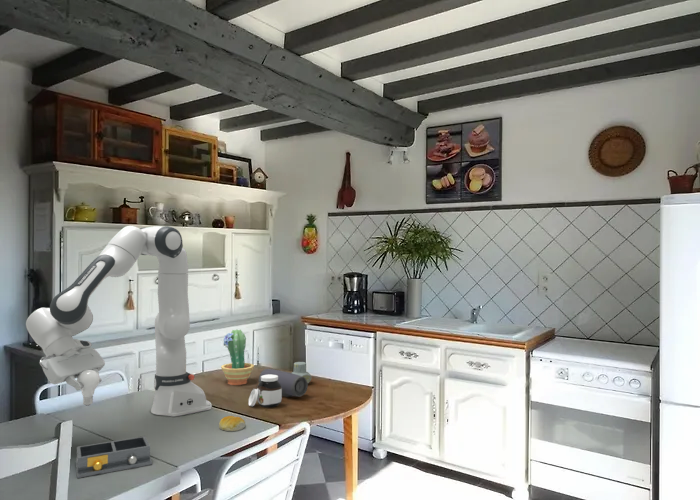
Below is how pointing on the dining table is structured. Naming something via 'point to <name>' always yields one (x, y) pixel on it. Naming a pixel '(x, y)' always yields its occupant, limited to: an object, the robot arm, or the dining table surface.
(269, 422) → the dining table surface
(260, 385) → the spread jar
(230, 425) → the bread roll
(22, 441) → the dining table surface
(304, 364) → the air freshener
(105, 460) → the grey rectangular box
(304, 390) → the bluetooth speaker
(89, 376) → the lightbulb
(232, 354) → the potted cactus
